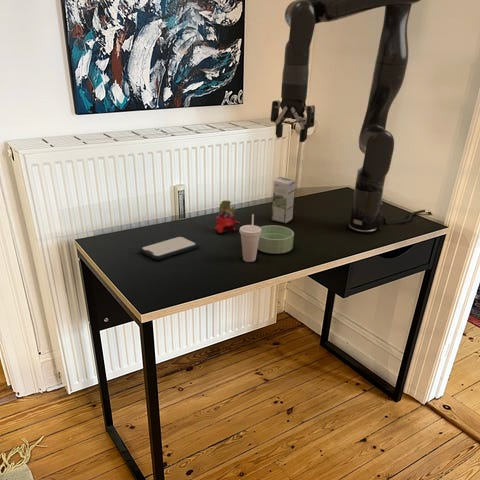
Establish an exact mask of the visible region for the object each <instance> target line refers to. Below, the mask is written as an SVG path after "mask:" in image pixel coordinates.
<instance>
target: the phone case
mask: <svg viewBox="0 0 480 480" xmlns="http://www.w3.org/2000/svg"><path fill="white" fill-rule="evenodd" d="M197 247H198V245H197V243H196V242H194V241H192V240H190V239H188V238H186V237H184V236H177V237H172V238H169V239H166V240H162V241H160V242H156V243H153V244H150V245H146V246H143V247H141V248H140V252H141V254H143V255H145V256H147V257H149V258H150V259H152V260H153V261H160V260H163V259H167V258H170V257H173V256H176V255H180V254H182V253H186V252H189V251H192V250H195V249H197Z"/></svg>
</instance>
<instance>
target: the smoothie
mask: <svg viewBox="0 0 480 480" xmlns="http://www.w3.org/2000/svg"><path fill="white" fill-rule="evenodd" d="M254 221H255V214H253V213H251V224H246V225H245V224H244V225H242V226H240V227H239V233H240V240H241V250H242V260H243V261H244V262H246V263H252V262H255V261H256V259H257V254H258V249H257V248H258V243H259V237H260V234H261V228H260V227H261V226H258V225H255V224H254Z"/></svg>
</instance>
